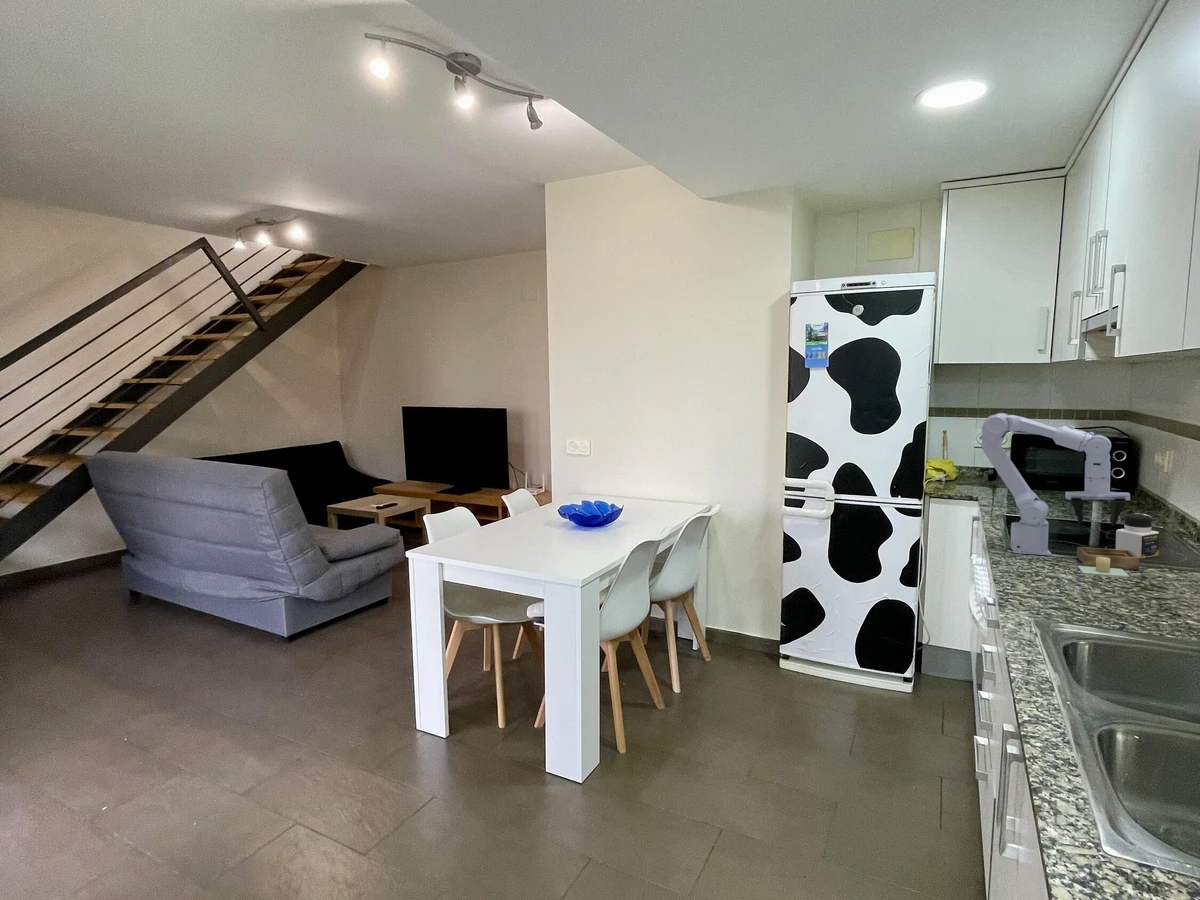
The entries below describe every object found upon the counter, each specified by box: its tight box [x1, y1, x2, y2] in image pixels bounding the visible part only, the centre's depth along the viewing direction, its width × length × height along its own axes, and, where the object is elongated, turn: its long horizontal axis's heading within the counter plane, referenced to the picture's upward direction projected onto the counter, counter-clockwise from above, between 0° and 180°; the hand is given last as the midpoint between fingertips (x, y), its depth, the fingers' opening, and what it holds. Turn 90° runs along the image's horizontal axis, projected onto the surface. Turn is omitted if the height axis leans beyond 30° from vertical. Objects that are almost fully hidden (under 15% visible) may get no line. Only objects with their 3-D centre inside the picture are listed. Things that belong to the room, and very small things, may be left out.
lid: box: [1077, 557, 1130, 579], centre depth 169 cm, size 10×7×4 cm
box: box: [1076, 546, 1141, 571], centre depth 176 cm, size 12×9×3 cm
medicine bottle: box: [1115, 512, 1160, 559], centre depth 183 cm, size 7×7×12 cm
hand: (1096, 524), depth 180 cm, fingers open, 7 cm apart
